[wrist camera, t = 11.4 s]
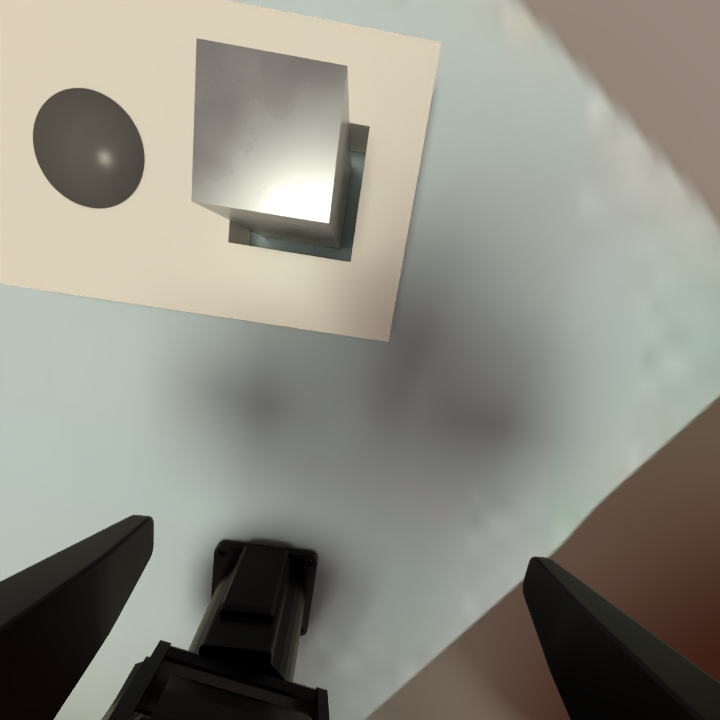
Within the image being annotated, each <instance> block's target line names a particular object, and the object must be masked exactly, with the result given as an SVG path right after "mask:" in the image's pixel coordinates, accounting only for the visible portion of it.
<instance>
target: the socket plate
mask: <svg viewBox="0 0 720 720" xmlns="http://www.w3.org/2000/svg"><path fill="white" fill-rule="evenodd" d="M196 38H198V39H204V40H209V41H215V42H220V43H226V44H231V45H237V46H242V47H248V48H253V49H258V50H264V51H269V52H275V53H280V54H286V55H291V56H297V57H302V58H308V59H313V60H319V61H324V62H329V63H335V64H340V65H346V66H348V94H349V125H350V151H355V152H361V153H366V157H365V164H364V171H363V178H362V185H361V192H360V199H359V206H358V213H357V220H356V227H355V234H354V241H353V248H352V255H351V262H346V261H340V260H334V259H328V258H322V257H315V256H309V255H303V254H297V253H291V252H284V251H278V250H272V249H266V248H260V247H254V246H250V233H251V230H249V229H247V228H245V227H243V226H241V225H239V224H237V223H235V222H233V221H231V220H229V219H227V218H224V217H222V216H220V215H218V214H216V213H214V212H212V211H210V210H208V209H206V208H204V207H202V206H200V205H198V204H196V203H194V202H192V201H191V198H192V166H193V134H194V102H195V70H196ZM440 48H441V42H437V41H432V40H427V39H422V38H416V37H411V36H406V35H401V34H396V33H391V32H386V31H381V30H376V29H371V28H366V27H361V26H356V25H351V24H346V23H340V22H335V21H330V20H325V19H320V18H315V17H310V16H305V15H300V14H295V13H290V12H285V11H280V10H275V9H270V8H264V7H259V6H254V5H249V4H244V3H239V2H234V1H229V0H0V284H6V285H12V286H19V287H26V288H32V289H39V290H46V291H52V292H59V293H66V294H72V295H79V296H86V297H92V298H99V299H105V300H112V301H119V302H125V303H132V304H139V305H145V306H152V307H159V308H165V309H172V310H179V311H185V312H192V313H199V314H205V315H212V316H219V317H225V318H232V319H239V320H245V321H252V322H258V323H265V324H272V325H278V326H285V327H292V328H298V329H305V330H312V331H318V332H325V333H332V334H338V335H345V336H352V337H358V338H365V339H372V340H378V341H385V342H389V337H390V331H391V326H392V320H393V314H394V309H395V303H396V297H397V292H398V286H399V280H400V275H401V269H402V263H403V258H404V252H405V246H406V241H407V235H408V229H409V224H410V218H411V212H412V207H413V201H414V195H415V190H416V184H417V178H418V173H419V167H420V161H421V156H422V150H423V144H424V139H425V133H426V127H427V121H428V116H429V110H430V104H431V99H432V93H433V87H434V82H435V76H436V70H437V65H438V59H439V53H440Z"/></svg>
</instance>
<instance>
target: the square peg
mask: <svg viewBox="0 0 720 720" xmlns="http://www.w3.org/2000/svg"><path fill="white" fill-rule="evenodd" d="M350 169H351V155H350V125H349V94H348V66H346V65H340V64H335V63H329V62H324V61H319V60H313V59H308V58H302V57H297V56H291V55H286V54H280V53H275V52H269V51H264V50H258V49H253V48H248V47H242V46H237V45H231V44H226V43H220V42H215V41H209V40H204V39H198V38H196V70H195V102H194V134H193V166H192V198H191V201H192V202H194V203H196V204H198V205H200V206H202V207H204V208H206V209H208V210H210V211H212V212H214V213H216V214H218V215H220V216H222V217H224V218H227V219H229V220H231V221H233V222H235V223H237V224H239V225H241V226H243V227H245V228H247V229H249V230H251V231H253V232H255V233H257V234H259V235H261V236H263V237H267V238H274V239H280V240H286V241H293V242H299V243H306V244H312V245H319V246H325V247H331V248H338V249H340V247H341V239H342V231H343V223H344V216H345V208H346V200H347V192H348V184H349V177H350Z"/></svg>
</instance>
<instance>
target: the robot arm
mask: <svg viewBox="0 0 720 720" xmlns="http://www.w3.org/2000/svg"><path fill="white" fill-rule="evenodd" d="M153 545H154V522H153V518H152V517H150V516H143V515H132V516H130V517H128V518H126V519H124V520H122V521H120V522H118V523H116V524H114V525H112V526H110V527H108V528H106V529H104V530H102V531H100V532H98V533H96V534H94V535H92V536H90V537H88V538H86V539H84V540H82V541H80V542H78V543H76V544H74V545H72V546H70V547H68V548H66V549H64V550H62V551H60V552H58V553H56V554H54V555H52V556H50V557H48V558H46V559H44V560H42V561H40V562H38V563H36V564H34V565H32V566H30V567H28V568H26V569H24V570H22V571H20V572H18V573H16V574H14V575H13V576H11V577H9V578H7V579H5V580H3V581H1V582H0V720H53V719H54V718H55V716H56V715H57V713H58V712H59V710H60V709H61V707H62V706H63V704H64V703H65V701H66V699H67V698H68V696H69V695H70V693H71V692H72V690H73V689H74V687H75V686H76V684H77V683H78V681H79V680H80V678H81V676H82V675H83V673H84V672H85V670H86V669H87V667H88V666H89V664H90V663H91V661H92V660H93V658H94V657H95V655H96V654H97V652H98V650H99V649H100V647H101V646H102V644H103V643H104V641H105V639H106V638H107V636H108V635H109V633H110V631H111V629H112V628H113V626H114V624H115V622H116V621H117V619H118V617H119V615H120V613H121V611H122V610H123V608H124V606H125V604H126V602H127V600H128V598H129V597H130V595H131V593H132V591H133V589H134V587H135V585H136V584H137V582H138V580H139V578H140V576H141V574H142V572H143V571H144V569H145V567H146V565H147V563H148V561H149V559H150V557H151V555H152V552H153ZM222 549H223V550H225V551H223V550H222ZM309 559H310V560H312V561H308V560H309ZM317 560H318V557H317V555H316V553H314V552H312V551H304V550H295V549H287V548H278V547H270V546H261V545H253V544H244V543H236V542H227V541H222V542H220V543H219V544H218V545H217V547H216V549H215V552H214V565H213V580H212V596H211V601H210V603H209V606H208V608H207V610H206V612H205V614H204V617H203V619H202V621H201V623H200V626H199V628H198V630H197V632H196V634H195V637H194V639H193V641H192V643H191V646H190V648H189V650H188V651H187V650H183V649H180V648H177V647H173V646H170V645H171V643H169V642H166V641H162V640H160V642H159V643H158V645H157V647H156V648H155V650H154V652H153V653H152V655H151V657H146V658H145V660H144V661H143V662H140V663H137V664H135V666H134V668H133V669H132V671H131V673H130V675H129V676H128V678H127V680H126V682H125V683H124V685H123V687H122V689H121V690H120V692H119V694H118V695H117V697H116V699H115V700H114V702H113V704H112V705H111V707H110V708H109V710H108V711H107V713H106V714H105V715H104V717H103V718H102V720H329V709H328V693H327V690H325V689H322V688H318V687H317V688H316V689H313V688H310V687H307V686H303V685H300V684H297V683H293V677H294V670H295V664H296V657H297V651H298V644H299V638H300V636H302V635H304V634H305V633H306V632H307V627H308V620H309V614H310V607H311V600H312V594H313V587H314V580H315V574H316V567H317ZM523 594H524V598H525V601H526V604H527V606H528V609H529V612H530V615H531V618H532V621H533V624H534V627H535V630H536V633H537V636H538V638H539V642H540V644H541V648H542V650H543V653H544V656H545V659H546V662H547V665H548V667H549V670H550V673H551V675H552V677H553V680H554V682H555V684H556V687H557V689H558V691H559V694H560V696H561V699H562V701H563V703H564V706H565V708H566V710H567V713H568V715H569V717H570V719H571V720H720V683H718V682H717V681H716V680H714V679H713V678H711V677H710V676H709V675H708V674H706V673H705V672H703V671H702V670H701V669H699V668H698V667H697V666H695V665H694V664H692V663H691V662H690V661H689V660H687V659H686V658H685V657H683V656H682V655H680V654H679V653H678V652H676V651H675V650H674V649H672V648H671V647H669V646H668V645H667V644H666V643H664V642H663V641H661V640H660V639H658V638H657V637H656V636H655V635H653V634H652V633H651V632H649V631H648V630H646V629H645V628H644V627H642V626H641V625H640V624H638V623H637V622H636V621H634V620H633V619H631V618H630V617H629V616H627V615H626V614H625V613H623V612H622V611H621V610H619V609H618V608H617V607H615V606H614V605H613V604H611V603H610V602H609V601H607V600H606V599H604V598H603V597H602V596H600V595H599V594H597V593H596V592H595V591H593V590H592V589H591V588H590V587H588V586H587V585H585V584H584V583H583V582H581V581H580V580H579V579H577V578H576V577H575V576H573V575H572V574H571V573H569V572H568V571H567V570H565V569H564V568H562V567H561V566H560V565H558V564H557V563H556V562H554V561H553V560H552V559H550V558H545V557H532V558H531V559H530V561H529V564H528V568H527V571H526V574H525V578H524V581H523Z"/></svg>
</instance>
